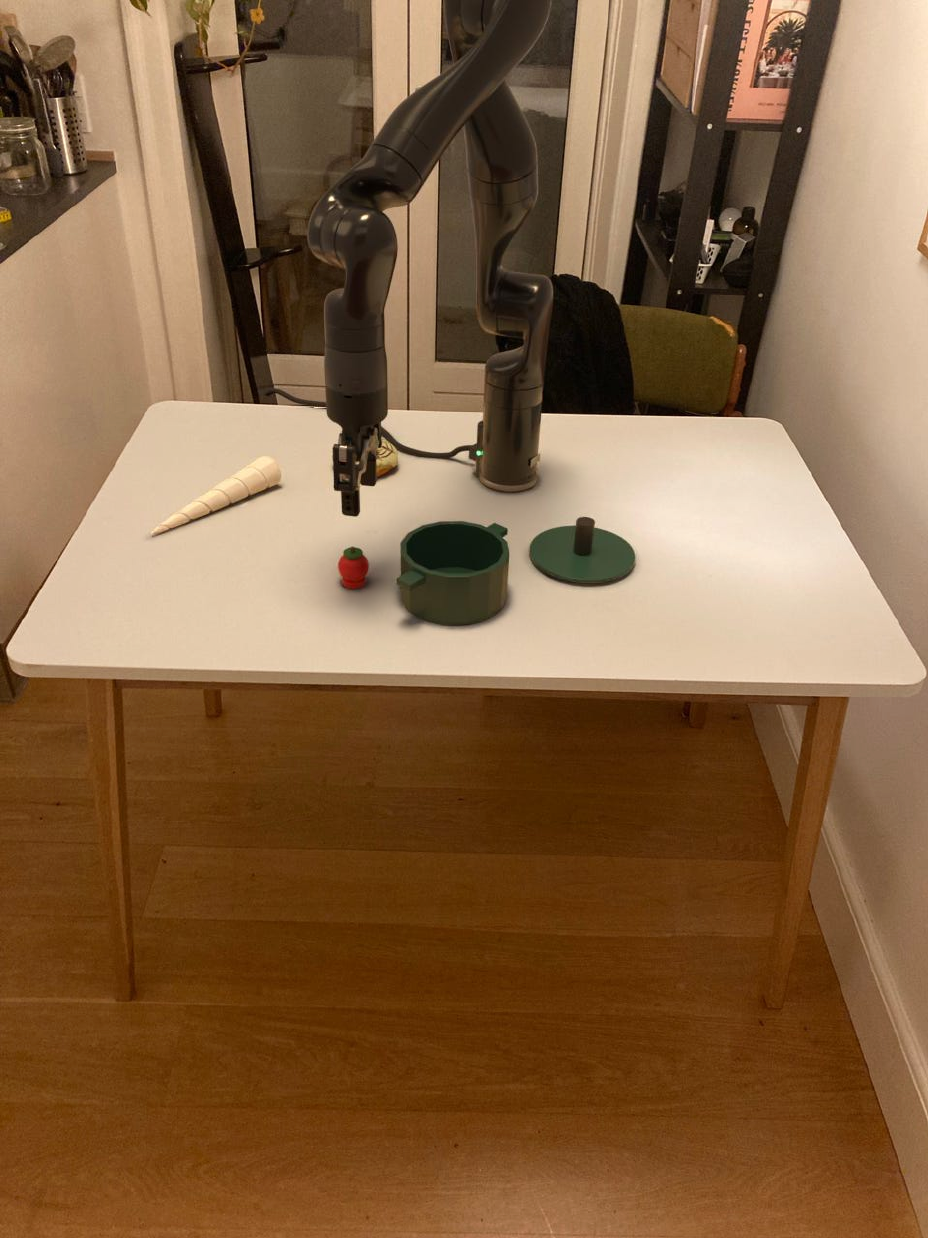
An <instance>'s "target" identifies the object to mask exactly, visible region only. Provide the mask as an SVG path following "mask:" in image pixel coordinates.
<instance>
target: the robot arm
mask: <svg viewBox="0 0 928 1238" xmlns="http://www.w3.org/2000/svg"><path fill="white" fill-rule="evenodd" d="M552 2H553V0H443V11H444V20H445V27H446V34H447V39H448V43H449V49H450V53H451V60H452V63H453V64H452V65H451V66H449V68H447V69H446V70H445V71H443V72H442V73H440V74H439V75H437V76H435V77H434V78H433V79H431V80H430V81H428V82H427V83H425V84H423V85H422V86H420V87H419V88H418V89H416V90H415V91H414V92H412V93H411V94H410V95H408V96H407V97H406V98H405V99H404V100H402V101H401V103H399V105H397V106H396V107H395V109H394V110H393V111H392V112H391V113H390V115H389V116H388V118H387V119H386V121H385V122H384V124H383V125H382V127H381V128H380V130H379V132H378V133H377V135H376V136H375V138H374V139H373V141H372V143H371V144H370V146H369V147H368V149H367V151H366V152H365V154H364V156H363V157H362V158H361V159H360V160H359V161H357V163H356V164H355V165H353V166H352V167H351V168H349V170H348V171H346V173H345V174H343V176H342V177H341V178H340V179H338V180H337V181H336V182H335V183H334V184H333V185H332V186H331V187H330V188H329V189H328V190H327V191H326V192H325V193H324V194H323V196H321V198H320V199H319V200H318V202H317V203H316V205H315V206H314V208H313V210H312V212H311V214H310V217H309V220H308V224H307V230H306V237H307V239H306V240H307V243H308V244H307V245H308V247H309V249H310V251H311V252H312V254H313V255H314V257H316V258H317V260H319V261H321V262H323V263H325V264H327V265H330V266H333V267H336V268H339V269H342V270H345V282H344V286H343V287H340V288H336V289H334V290H331V291H330V292H328V294H327V295H326V297H325V299H324V303H323V324H324V325H323V326H324V328H323V329H324V342H325V343H324V344H325V345H324V355H323V356H324V357H323V367H324V369H323V370H324V387H325V392H324V393H325V401H319V400H311V399H309V400H308V399H303V398H298V397H296V396H293V395H292V394H290V393H288V392H286V391H284V390H282V389H280V388H277V387H276V388H275V387H273V388H269V389H268V390H266V391H265V393H264V394H263V396H266V397H270V396H271V395H274V394H277V395H279V396H281V397H283V398H285V399H287V400H288V401H291V403H292V402H293V403H294V404H299V405H304V406H311V407H320V408H326V411H325V412H326V416H327V418H328V419H329V420H330V421H331V422H333V423H335V424H336V425H338V426H339V427H340V428H341V432H340V433H339V434H338V439H337V443H333V445H332V451H333V453H332V455H333V460H332V469H333V470H332V472H333V475H332V476H333V491H334V492H340V500H341V501H340V502H341V503H340V504H341V514H342V515H343V516H346V517H358V516H359V515H360V513H361V494H360V493H361V492H360V491H361V490H360V489H361V486H366V487H375V486H376V484H377V483H378V476H377V461H376V459H377V458H378V456H379V452H378V448H381V446H382V439H383V438H382V436H384V438H386V439H387V441H388V442H389V443H390V444H392V445H393V446H394V447H395V448H396V449H398V450H400V451H402V452H405V453H408V454H410V455H413V456H418V457H422V458H428V459H450V458H453V457H455V456H457V455H458V454H460V453H462V452H468V460H470V461H473V462H475V472H474V473H475V477H476V478H479V481H480V482H481V483H482V484H483V485H484V486H485V487H487V488H489V489H492V490H495V491H498V492H507V493H508V492H509V493H513V492H514V493H515V492H516V493H517V492H522V491H526V490H528V489H531V488H533V487H534V486H535V485H536V483H537V481H538V480H537V479H538V463H539V462H540V460H541V453H539V449H540V448H539V447H540V435H541V424H542V423H541V422H542V411H543V410H542V409H543V397H544V385H545V372H546V364H547V363H546V362H547V355H548V354H547V353H548V344H549V336H550V327H551V319H552V313H553V305H554V287H553V286H554V285H553V283H552V280H551V279H550V278H549V277H548V276H547V275H544V274H537V273H529V272H520V271H512V270H506V269H505V268H504V266H503V256H504V254H505V253H506V250H507V248H508V247H509V245H510V243H511V242H512V240H513V238H514V237H515V235H516V234H517V233H518V232H519V230H520V229H521V227H522V226H523V225H524V224H525V222H526V221H527V218H528V217H529V216H530V215H531V213H532V211H533V209H534V207H535V205H536V203H537V199H538V197H539V160H538V158H539V157H538V149H537V148H538V147H537V143H536V140H535V136H534V133H533V132H532V131H533V130H532V129H531V127H530V126H531V125H530V124H529V122H528V120H527V117H526V116H525V114H524V112H523V110H522V109H521V106H520V105H519V103H518V101H517V99H516V97H515V95H514V94H513V91H512V89H511V87H510V85H509V83H508V80H507V77H508V76H509V75H510V74H511V73H512V72H513V71H514V70H515V69H516V67H517V66H518V65H519V64H520V63H521V62H522V61H523V60H524V58H525V57H526V56H527V55H528V54H529V53H530V51H531V50H532V49H533V47H534V46H535V44H536V43H537V42H538V40H539V38H540V37H541V35H542V33H543V31H544V29H545V28H546V25H547V22H548V21H549V17H550V12H551V9H552V8H551V7H552V4H553V3H552ZM462 128H463V135H464V137H463V138H464V146H465V160H466V161H465V162H466V174H467V185H468V191H469V192H468V193H469V201H470V207H471V209H470V210H471V216H472V217H471V218H472V225H473V235H474V250H475V251H474V252H475V301H476V315H477V320H478V323H479V326H480V328H481V330H482V331H484V332H485V333H488V334H491V335H495V336H502V337H509V338H515V339H523V345H521V346H519V347H517V348H513V349H510V350H505V351H501V352H497V353H495V354H493V355H491V356H490V357H489V358H487V360H486V362H485V365H484V379H483V380H484V383H483V405H482V406H483V407H482V420H480V421H478V423H477V425H476V426H477V428H476V442H475V443H474V444H465V445H460V446H457V447H455V448H453V449H452V450H451V451H448V452H431V451H426V450H425V451H424V450H420V449H416V448H412V447H410V446H407V445H404V444H402V443H400V442H399V441H397V440H396V438H395V437H393V435H392V434H391V433H390V432H389V431H388V430H387V429H386V428H384V427H383V426H382V422H383V421H384V420H386V419H387V416H388V414H389V406H388V405H389V397H388V395H389V392H388V390H389V389H388V387H389V386H388V357H387V351H386V343H385V342H386V322H385V308H386V303H387V300H388V297H389V293H390V289H391V284H392V280H393V277H394V273H395V268H396V263H397V259H398V249H399V246H398V245H399V243H398V236H397V233H396V229H395V227H394V224H393V221H392V220H391V219H390V217H389V216H388V215H387V214H386V213H385V212H384V211H386V210H388V209H392V208H400V207H405V206H408V205H409V204H410V203H412V202H413V201H414V199H415V198H416V197H417V195H418V194H419V193H420V191H421V190H422V188H423V186H424V185H425V183H426V182H427V180H428V179H429V177H430V175H431V174H432V172H433V171H434V169H435V168H436V166H437V164H438V163H439V162H440V159H441V157H442V156H443V155H444V153H445V152H446V150H447V148H448V147H449V146H450V144H451V143H452V142H453V140H454V138H456V137H457V135H458V133H459V132H460V131H461V130H462ZM355 462H359V464H355ZM346 476H348V479H346Z"/></svg>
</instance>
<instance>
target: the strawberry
mask: <svg viewBox="0 0 928 1238" xmlns="http://www.w3.org/2000/svg"><path fill="white" fill-rule="evenodd" d="M369 570H370V563H369V560H368V558H367V557H366V555H365V554H364V553H363V550H362V549H361V548H360V547H356V546H351V547H350V546H349V547H347V548H345V549H344V550H343V551H342V555H341V557H340V558H339V560H338V562H337V571H338V574H339V575H340V576H341V579H342V580H341V581H342V585H343V587H345V588H346V589H351V590H356V589H361V588H363V587H365V585H366V584H367V575H368V573H369Z"/></svg>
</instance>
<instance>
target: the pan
mask: <svg viewBox="0 0 928 1238" xmlns="http://www.w3.org/2000/svg"><path fill="white" fill-rule="evenodd" d="M508 531H509V528H508V527H506V526H503V525H501V524H498V523H496V522H493V523H491V524H489V525H488V526H485V525H483V524H480V523H476V522H475V523H474V522H469V521H464V520H441V521H436V522H431V523H427V524H422V525H420V526H418V527H416V528H415V529H413V530H411V531H409V532H407V533H406V535H405V536H404V538H402V539H401V542H400V545H399V546H400V547H399V549H400V551H399V552H400V553H399V556H400V557H399V558H400V559H399V561H400V562H399V563H400V565H399V566H400V575H399V576H397V577H396V585H397V586H398V587H400V598H401V602H402V604H403V606H404V607H405V608H406V609H407V611H408V612H409V613H411V614H412V615H414V616H416V617H417V618H419V619H421V620H423V621H426V622H430V623H434V624H438V625H442V626H443V625H444V626H466V625H472V624H473V625H474V624H478V623H481V622H483V621H486V620H488V619H490V618H492V617H494V616H495V615H496V614H498V613H499V612H500V611H501V610H502V609H503V607H504V606H505V602H506V599H507V597H508V583H509V582H508V581H509V568H510V567H509V565H510V548H509V544H508V543H509V542H508V541H507V540H506V539H505V538H504V537H506V536H507V535H508V534H509V533H508Z"/></svg>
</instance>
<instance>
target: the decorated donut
mask: <svg viewBox="0 0 928 1238" xmlns="http://www.w3.org/2000/svg"><path fill="white" fill-rule="evenodd" d="M378 452H379V456H378V458H377V459H376V461H377V477H380V476H383V475H385V474H387V472H389V471H390V470H392V469H393V468H394V467H396V466H397V465H398V462H399V452H398V450H397V448H396V447H395V446H394V445H392V444H391V442H390V441H389V440H385V439H383V438H382V446H381V448H378ZM331 457H332V459H331V461H333V450H332V455H331ZM355 464H359V462H355Z"/></svg>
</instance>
